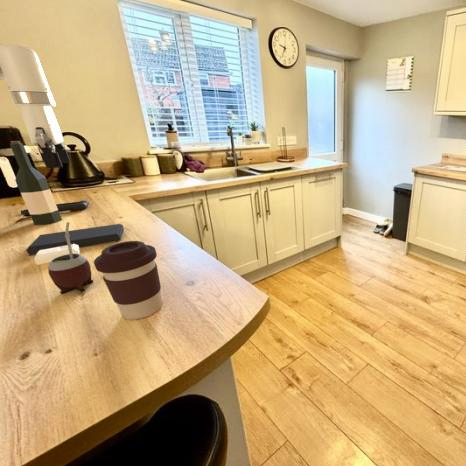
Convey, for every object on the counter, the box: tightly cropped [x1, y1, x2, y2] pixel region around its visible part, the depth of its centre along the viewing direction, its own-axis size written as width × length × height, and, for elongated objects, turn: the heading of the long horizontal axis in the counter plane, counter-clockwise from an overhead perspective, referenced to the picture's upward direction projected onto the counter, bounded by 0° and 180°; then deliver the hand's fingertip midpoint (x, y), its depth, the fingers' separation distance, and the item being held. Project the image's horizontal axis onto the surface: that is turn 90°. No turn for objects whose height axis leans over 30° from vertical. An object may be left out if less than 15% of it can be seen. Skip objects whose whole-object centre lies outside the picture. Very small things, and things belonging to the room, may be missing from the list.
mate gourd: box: [47, 221, 94, 295], centre depth 68 cm, size 8×8×15 cm
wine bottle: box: [9, 140, 63, 226], centre depth 107 cm, size 8×8×30 cm
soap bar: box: [33, 244, 81, 266], centre depth 84 cm, size 5×9×3 cm, turn 129°
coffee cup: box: [93, 240, 163, 321], centre depth 59 cm, size 10×10×15 cm
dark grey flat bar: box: [26, 223, 125, 257], centre depth 95 cm, size 22×12×2 cm, turn 122°
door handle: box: [20, 200, 90, 218], centre depth 125 cm, size 3×20×16 cm
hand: (59, 165), depth 83 cm, fingers open, 9 cm apart
